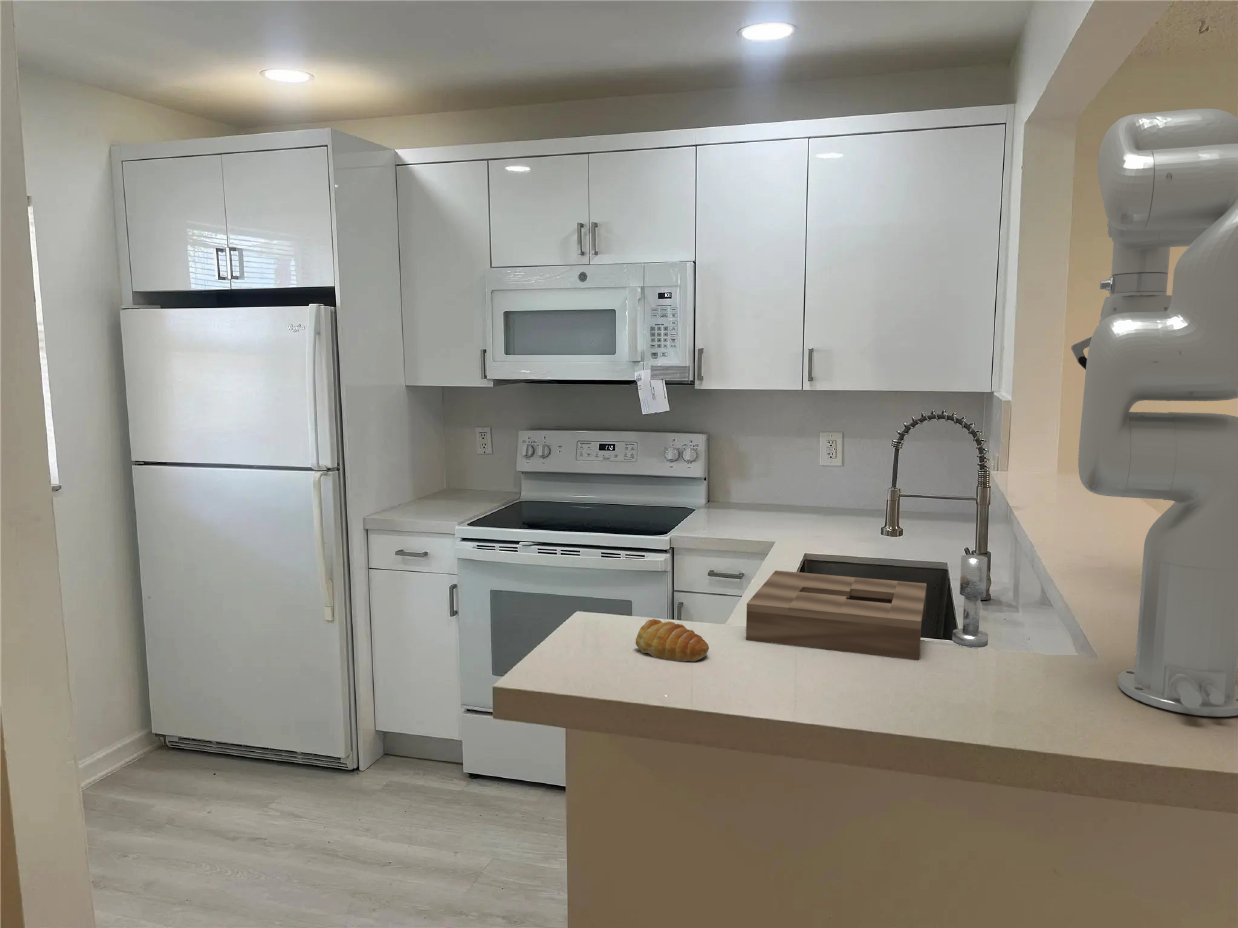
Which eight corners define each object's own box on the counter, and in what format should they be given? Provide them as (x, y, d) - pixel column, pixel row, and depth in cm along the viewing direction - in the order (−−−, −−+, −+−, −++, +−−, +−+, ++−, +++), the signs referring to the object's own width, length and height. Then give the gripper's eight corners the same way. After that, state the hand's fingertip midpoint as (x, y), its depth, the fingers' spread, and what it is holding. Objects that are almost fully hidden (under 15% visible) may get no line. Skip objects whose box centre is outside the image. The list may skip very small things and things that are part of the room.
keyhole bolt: (988, 648, 116) (992, 562, 114) (952, 645, 117) (956, 559, 116) (987, 639, 120) (991, 555, 118) (952, 635, 121) (956, 552, 120)
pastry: (719, 655, 114) (720, 626, 113) (689, 669, 108) (689, 639, 108) (660, 640, 120) (660, 612, 119) (629, 653, 114) (629, 624, 114)
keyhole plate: (919, 659, 111) (921, 621, 111) (745, 639, 119) (746, 603, 119) (925, 616, 130) (926, 583, 129) (774, 601, 138) (775, 570, 137)
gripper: (1078, 287, 135) (1070, 400, 137) (1211, 284, 129) (1201, 402, 131) (1072, 290, 142) (1065, 398, 144) (1198, 288, 136) (1189, 400, 138)
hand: (1130, 399), depth 138 cm, fingers open, 9 cm apart
